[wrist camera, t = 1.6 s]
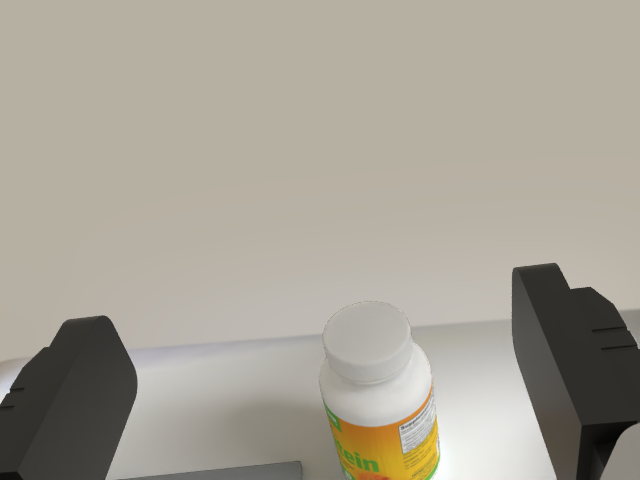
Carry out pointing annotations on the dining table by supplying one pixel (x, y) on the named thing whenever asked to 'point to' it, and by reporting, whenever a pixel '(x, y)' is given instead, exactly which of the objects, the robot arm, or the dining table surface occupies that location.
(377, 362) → the supplement bottle
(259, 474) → the placemat
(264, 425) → the dining table surface
